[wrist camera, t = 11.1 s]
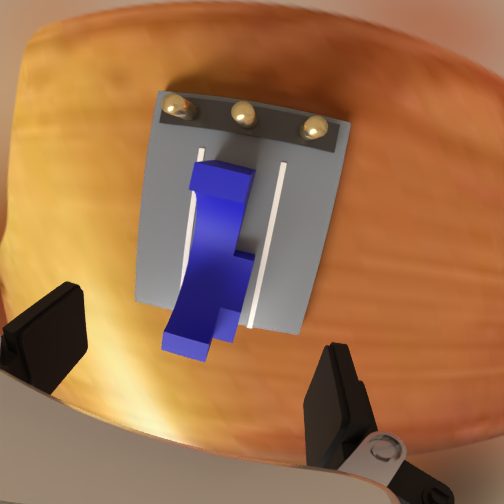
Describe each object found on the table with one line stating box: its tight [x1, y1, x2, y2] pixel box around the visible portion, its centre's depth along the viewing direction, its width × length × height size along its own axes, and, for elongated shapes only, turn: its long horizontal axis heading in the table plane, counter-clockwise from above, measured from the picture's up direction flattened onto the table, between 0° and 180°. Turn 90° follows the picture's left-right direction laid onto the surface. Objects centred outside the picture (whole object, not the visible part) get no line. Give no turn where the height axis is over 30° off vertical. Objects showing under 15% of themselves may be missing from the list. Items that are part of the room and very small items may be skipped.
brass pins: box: [159, 93, 340, 153], centre depth 18 cm, size 12×2×5 cm, turn 80°
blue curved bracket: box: [161, 160, 256, 362], centre depth 20 cm, size 12×4×6 cm, turn 166°
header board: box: [135, 91, 351, 335], centre depth 23 cm, size 14×17×1 cm
